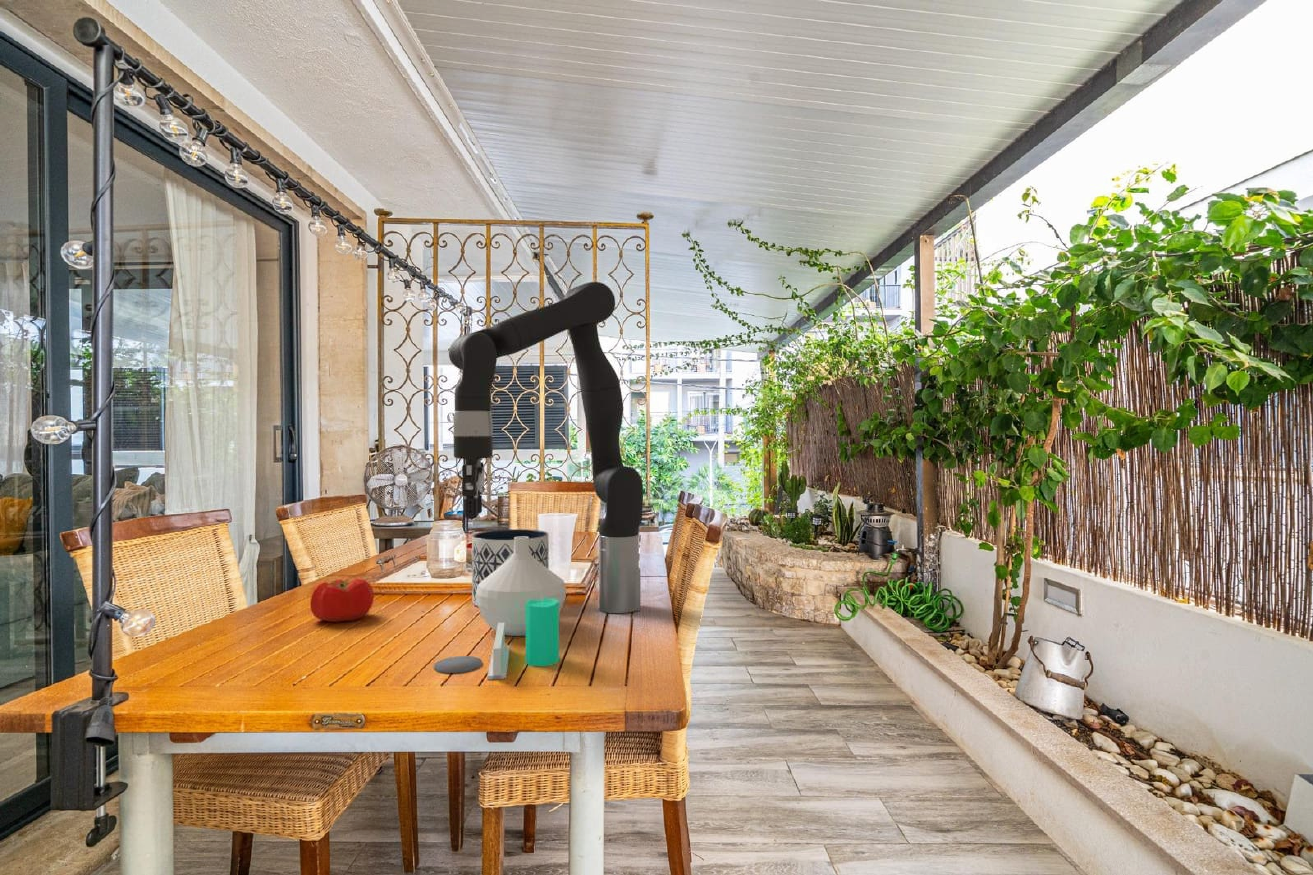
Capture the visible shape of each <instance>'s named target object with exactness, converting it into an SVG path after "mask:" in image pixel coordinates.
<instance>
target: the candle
mask: <svg viewBox="0 0 1313 875" xmlns="http://www.w3.org/2000/svg"><path fill="white" fill-rule="evenodd" d="M559 661H560V614H559V600H557V599H554V598H546V599H543V593H542V600H530V601H528V602H527V603H526V635H525V664H527V665H528V666H532V667H548V666H551V665H556V664H557V663H560V662H559Z"/></svg>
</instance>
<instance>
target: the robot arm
mask: <svg viewBox="0 0 1313 875" xmlns="http://www.w3.org/2000/svg"><path fill="white" fill-rule="evenodd" d="M615 308H616V298H615V294H614V293H613V291H612V289H611V288H610V287H609V286H608V285H606V284H605V283H602V282H599V281H591V282H589V281H588V282H586V283H583V284H581V285H578V286H575V287H572V288H571V289H569V290H568V291H567V292H566V293H565V295H564V297H563V299H562V300H559V301H557V302H554V303H551V304H548V305H546V306H542V307H539V308H536V309H532V310H529V311H526V312H523V313H520V314H517V315H515V316H512V317H510V318H507V319H505V320H501V321H499V322H497V323H495V324H494V325H492V326H489V327H487V328H483V329H480V330H477V331H473V332H471V333H468V334H464V335H461V336H459V337H457V338H455V339H454V340H453V341H452V342H451V344H450V346H449V350H448V358H449V360H450V362H451V364H452V365H453V366H454V367H456V368H457V369H458V370H462V375H461V380H460V381H459V383H458V384H456V386H455V389H454V417H453V457H454V458H455V459H460V460H461V459H464V461H465V464H462V466H461V474H462V481H461V482H462V483H461V486H462V492H461V494H462V497H463V499H464V517H465V519H476V518H477V517H478V514H481V513H482V512H483V496H482V495H483V493H484V490H485V471H486V470H485V467H484V466H485V464H484V462H481V460H482V459H490V458H492V457H493V452H494V451H493V450H494V449H493V447H494V446H493V442H494V441H493V440H494V439H493V438H494V437H493V418H492V394H491V392H492V386H493V382H494V379H495V378H494V377H495V374H496V367H497V362H498V361H497V360H498V359H499V358H502V357H506V356H510V355H514V354H517V353H519V352H521V351H524V350H526V349H528V348H530V347H533V346H535V345H537V344H539V343H541V342H543V341H545V340H547V339H550V338H551V337H554V336H555V335H558V334H561V333H563V332H565V331H568V334H569V337H570V341H571V344H572V349H573V354H574V358H575V364H576V369H577V376H578V382H579V386H580V387H579V389H580V394H581V399H582V407H583V411H584V416H585V421H586V422H585V423H586V430H587V434H588V440H589V444H590V453H591V454H590V455H591V465H592V466H591V467H592V469H591V470H592V482H593V488H594V492H595V495H596V496H597V497H598V498H599V500H600V501H602V502H603V503H605V504H606V505H605V506H606V510H605V517H604V519H603V520H601V522H600V523H599V525H598V534H599V535H598V548H599V549H598V566H599V567H598V572H599V574H598V580H599V581H598V593H599V594H598V597H599V599H598V605H599V606H598V607H599V610H600V611H601V612H604V613H608V614H627V613H633V612H638V611H641V610H642V609H641V604H642V603H641V602H642V601H641V600H642V599H641V598H642V597H641V596H642V595H641V594H642V593H641V582H642V581H641V580H642V579H641V568H640V559H639V558H640V553H639V552H640V548H639V546H640V543H639V541H640V539H639V538H640V535H639V534H640V531H639V530H640V527H641V523H642V521H643V507H644V506H643V505H644V485H643V479H642V476H641V475H640V473H639V471H637V469H635V468H633V467H631V466H626V465H624V463H623V458H622V455H621V449H620V435H621V434H620V433H621V429H622V428H621V427H622V424H623V417H624V416H623V415H624V402H623V395H622V389H621V383H620V380H619V376H618V374H617V372H616V370H615V369H614V367H613V365H612V364H611V362H610V361H609V359H608V357H607V356H606V354H605V353H604V351H603V348H602V346H601V343H600V338H599V333H598V332H599V331H598V324H600V323H603V322H605V321H607V320H608V319H609V318H610V317H611V316H612V314H613V313H614V310H615Z"/></svg>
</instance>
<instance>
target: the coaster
mask: <svg viewBox="0 0 1313 875" xmlns="http://www.w3.org/2000/svg"><path fill="white" fill-rule="evenodd" d="M482 663H483V660H482V659H481V658H480V657H477V656H471V655H470V656H469V655H458V656H451V657H450V656H449V657H446V658H443V659H440V660H438V661H436V662H435V663H434V664H433V670H434V671H435V670H436V671H435V672H437V671H438V673H440V672H442V673H441V674H447V673H453V674H464V673H468V672H471V671H475V670H477V669H479V668H480V667H481V666H483V664H482ZM453 674H452V675H453Z"/></svg>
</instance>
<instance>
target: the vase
mask: <svg viewBox="0 0 1313 875" xmlns="http://www.w3.org/2000/svg"><path fill="white" fill-rule="evenodd" d="M542 593H543V599H546V598H554V599H557V600H559V615H560V614H561V612H562V609H563V606H564V603H565V600H566V598H567V586H566V584H565V581H564V579H563V578H561V577H560V576H558V575H557V574H556V573H555V572H553V571H552V570H551V569H548V568H546V567H545V566H544V565H543V564H541V563H540V562H539V561H537V560H536V559H535V558H534V557H533V556H532V555H531V554H530V552H529V537H526V536H520V537H514V553H513V554H512V555H511V557H510V558H509V559H508V560H507V561H506V562H504V563H503V564H502V565H501V566H500V567H499V568H498V569H496V570H495V571H494V572H493V573H491V574H490V575H489V576H488V577H486V578H485V579H484V580H483V581H481V582H480V583H479V585H478V587H477V590H476V602H477V606H476V607H477V608H478V610H479V613H480V615H481V618H482V620H483V621H485V623H486V624H487V625H488V626H489V627H490V628H491V629H493V630H494V631H495V632H496V631H497V626H498V623H505V636H512V637H521V636H522V637H526V603H527V602H528V601H530V600H542Z"/></svg>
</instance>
